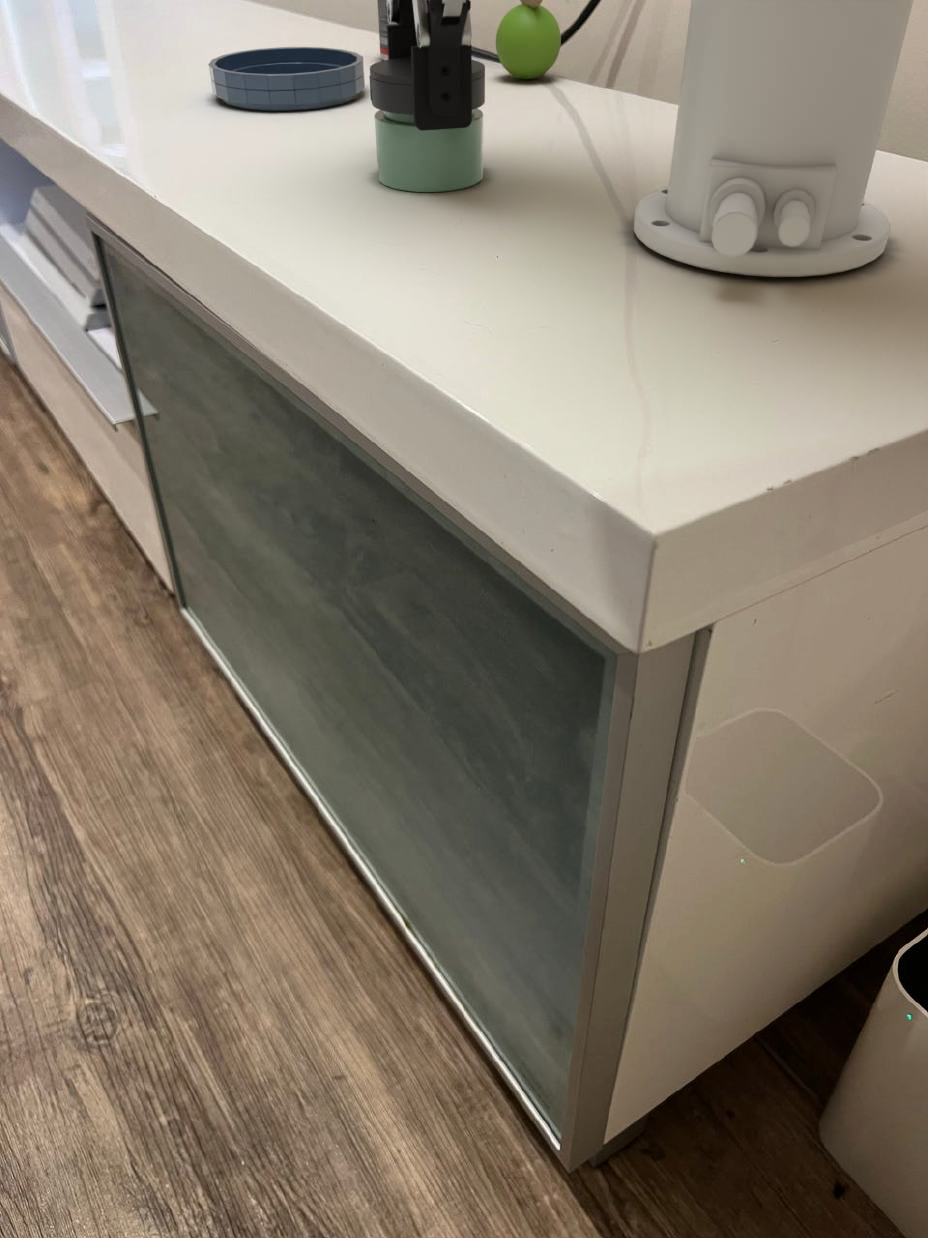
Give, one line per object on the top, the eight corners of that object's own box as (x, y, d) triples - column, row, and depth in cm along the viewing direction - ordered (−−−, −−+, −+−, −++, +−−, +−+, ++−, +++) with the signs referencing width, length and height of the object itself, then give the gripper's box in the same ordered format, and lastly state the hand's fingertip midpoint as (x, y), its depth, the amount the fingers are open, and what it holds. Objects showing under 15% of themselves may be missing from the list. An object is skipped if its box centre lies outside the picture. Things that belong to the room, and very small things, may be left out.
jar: (468, 195, 55) (468, 96, 52) (364, 188, 56) (357, 91, 53) (493, 166, 60) (494, 74, 56) (396, 160, 61) (392, 69, 58)
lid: (362, 114, 53) (360, 77, 52) (378, 90, 58) (376, 55, 57) (481, 115, 53) (482, 78, 51) (487, 90, 58) (487, 55, 56)
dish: (334, 115, 70) (331, 77, 69) (188, 108, 73) (181, 71, 71) (384, 83, 79) (382, 49, 78) (252, 77, 82) (248, 44, 80)
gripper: (550, -335, 38) (533, 145, 50) (452, -292, 51) (456, 81, 63) (367, -339, 37) (393, 155, 48) (314, -294, 50) (344, 87, 61)
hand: (429, 110), depth 56 cm, fingers closed on lid, 6 cm apart
